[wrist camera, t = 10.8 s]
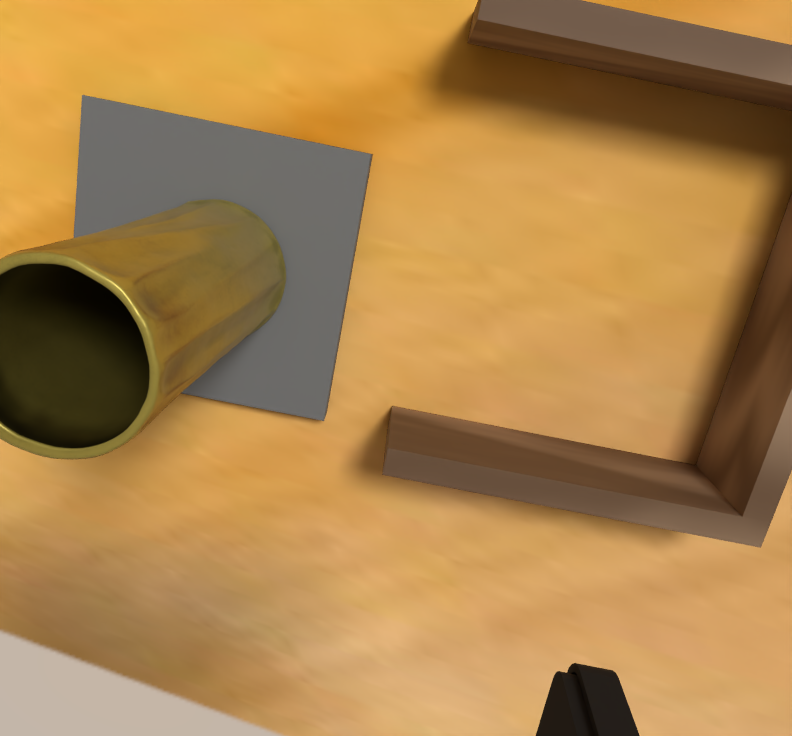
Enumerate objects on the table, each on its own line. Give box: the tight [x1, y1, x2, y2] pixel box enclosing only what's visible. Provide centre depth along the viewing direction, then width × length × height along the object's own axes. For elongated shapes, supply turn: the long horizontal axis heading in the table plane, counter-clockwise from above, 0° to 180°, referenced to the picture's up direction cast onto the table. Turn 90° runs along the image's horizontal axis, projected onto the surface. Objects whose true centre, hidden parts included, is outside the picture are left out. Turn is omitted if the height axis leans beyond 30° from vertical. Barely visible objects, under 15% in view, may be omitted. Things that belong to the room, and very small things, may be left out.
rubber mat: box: [74, 95, 373, 421], centre depth 31 cm, size 12×12×1 cm
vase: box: [0, 199, 286, 459], centre depth 23 cm, size 6×6×14 cm
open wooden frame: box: [382, 0, 792, 547], centre depth 28 cm, size 18×16×5 cm
